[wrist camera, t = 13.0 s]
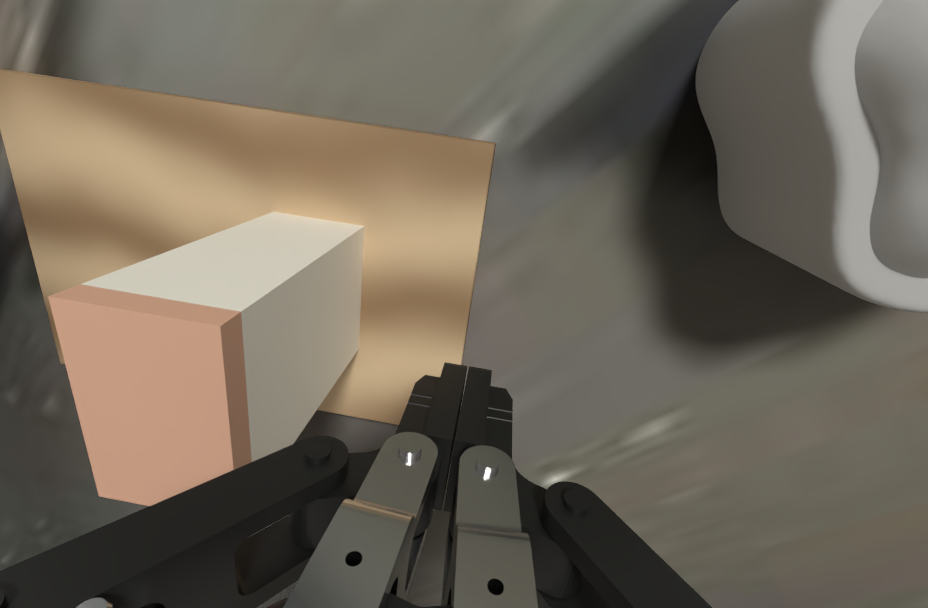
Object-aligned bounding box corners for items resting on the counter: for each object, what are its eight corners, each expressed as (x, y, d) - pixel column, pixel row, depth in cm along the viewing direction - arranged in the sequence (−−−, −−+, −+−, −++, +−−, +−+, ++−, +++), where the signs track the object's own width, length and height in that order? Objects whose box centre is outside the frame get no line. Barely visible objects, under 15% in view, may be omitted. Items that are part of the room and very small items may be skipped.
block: (273, 211, 19) (47, 296, 10) (364, 226, 19) (219, 325, 10) (277, 335, 21) (99, 496, 12) (358, 349, 21) (238, 523, 12)
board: (14, 70, 19) (-16, 67, 18) (496, 143, 18) (494, 144, 17) (80, 352, 25) (60, 363, 24) (453, 419, 24) (450, 434, 23)
